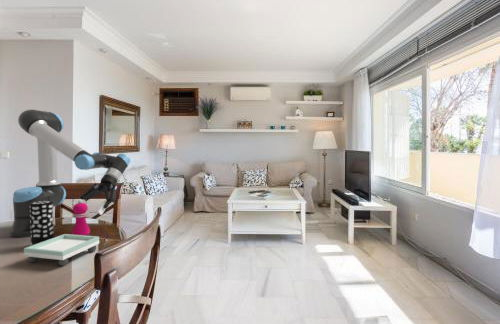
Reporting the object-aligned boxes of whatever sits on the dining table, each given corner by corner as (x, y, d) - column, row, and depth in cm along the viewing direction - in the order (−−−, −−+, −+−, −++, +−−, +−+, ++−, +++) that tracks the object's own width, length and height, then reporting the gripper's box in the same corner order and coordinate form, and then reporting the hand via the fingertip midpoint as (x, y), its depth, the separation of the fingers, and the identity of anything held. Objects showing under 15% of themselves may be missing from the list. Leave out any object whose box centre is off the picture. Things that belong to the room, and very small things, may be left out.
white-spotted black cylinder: (51, 241, 130) (49, 199, 129) (56, 245, 125) (55, 202, 124) (29, 246, 124) (27, 202, 123) (34, 250, 119) (32, 205, 117)
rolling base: (24, 263, 106) (23, 248, 105) (65, 247, 123) (64, 233, 123) (63, 268, 102) (62, 252, 101) (99, 250, 119) (99, 236, 119)
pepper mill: (70, 244, 126) (68, 201, 125) (75, 239, 133) (74, 198, 132) (87, 243, 128) (86, 200, 127) (92, 238, 135) (90, 198, 134)
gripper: (134, 183, 145) (113, 218, 132) (96, 181, 152) (73, 214, 139) (126, 174, 140) (104, 210, 126) (88, 173, 147) (63, 206, 134)
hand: (88, 212), depth 133 cm, fingers open, 13 cm apart
